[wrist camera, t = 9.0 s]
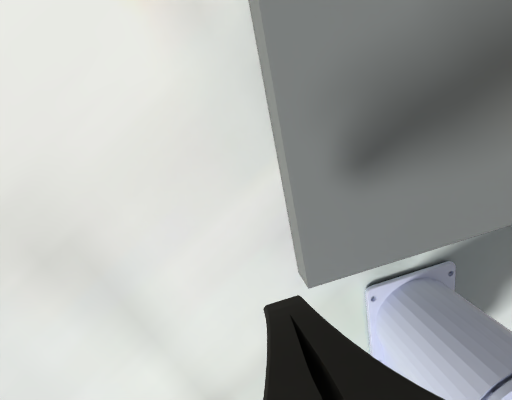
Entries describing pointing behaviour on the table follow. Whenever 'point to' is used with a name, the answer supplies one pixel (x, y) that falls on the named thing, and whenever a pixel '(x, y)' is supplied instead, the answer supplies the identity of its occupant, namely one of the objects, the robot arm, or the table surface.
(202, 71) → the table surface
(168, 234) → the table surface
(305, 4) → the trap board
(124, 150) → the table surface
